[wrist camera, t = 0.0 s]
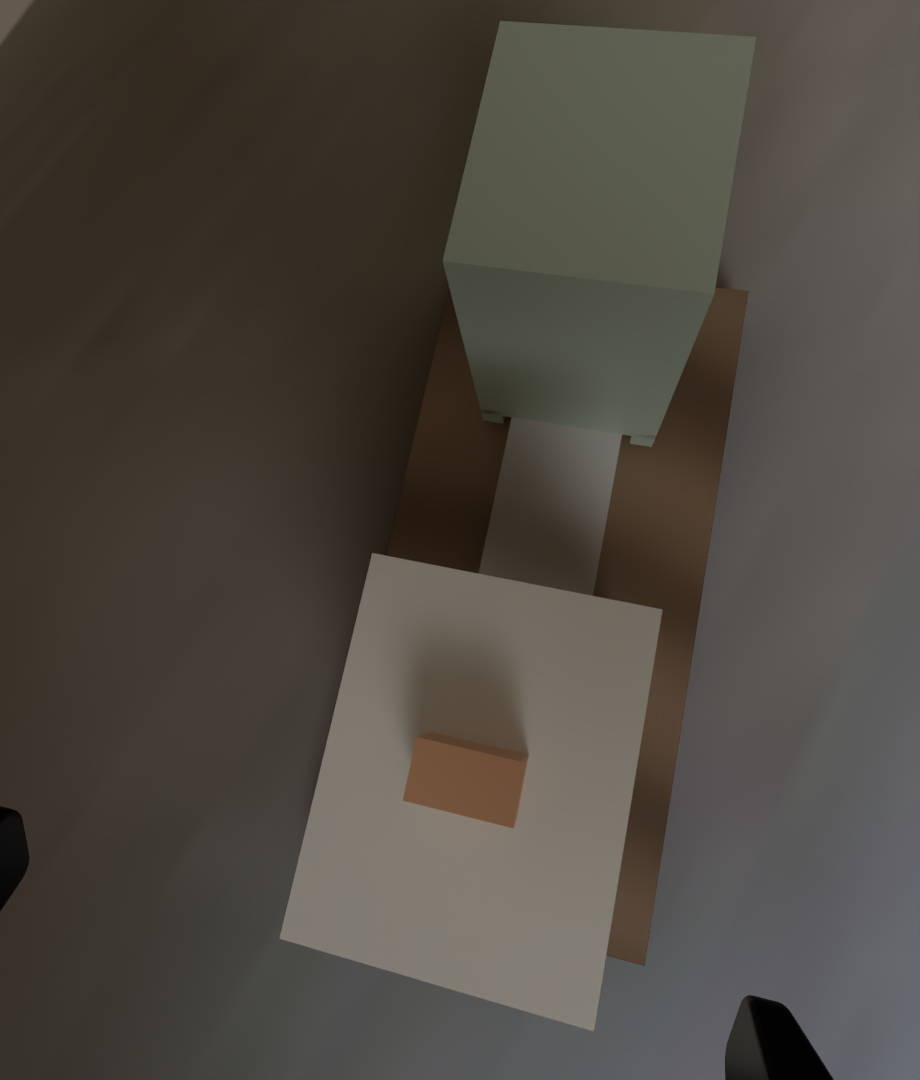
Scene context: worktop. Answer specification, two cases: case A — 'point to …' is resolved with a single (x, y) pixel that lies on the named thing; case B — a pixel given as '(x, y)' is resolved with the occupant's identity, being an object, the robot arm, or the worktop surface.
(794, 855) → the worktop surface
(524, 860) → the block
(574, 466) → the rail board
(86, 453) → the worktop surface
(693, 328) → the block
